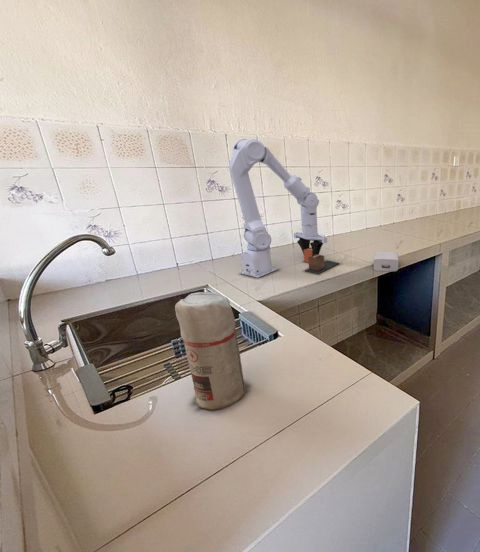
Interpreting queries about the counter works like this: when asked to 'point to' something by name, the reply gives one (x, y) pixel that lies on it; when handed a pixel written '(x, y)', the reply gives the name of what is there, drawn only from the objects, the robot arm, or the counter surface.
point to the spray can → (211, 349)
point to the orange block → (307, 254)
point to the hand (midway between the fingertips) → (311, 257)
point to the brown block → (316, 262)
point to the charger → (386, 261)
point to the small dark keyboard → (326, 264)
